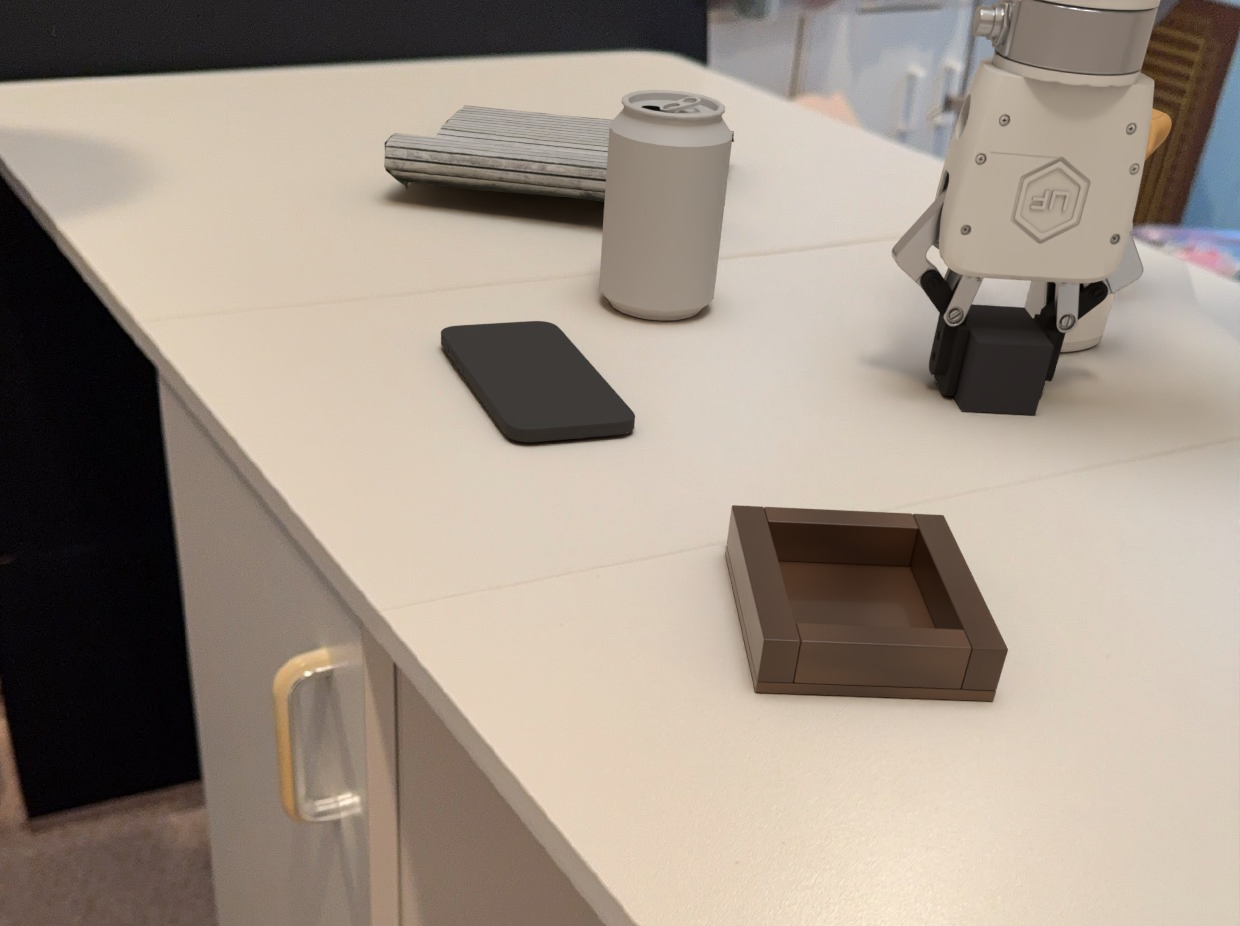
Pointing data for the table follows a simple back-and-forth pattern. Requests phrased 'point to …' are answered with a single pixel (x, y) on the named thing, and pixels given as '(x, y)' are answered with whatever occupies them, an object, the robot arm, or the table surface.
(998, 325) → the block
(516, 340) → the phone
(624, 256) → the can
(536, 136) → the mat
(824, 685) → the socket
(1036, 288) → the eye dropper bottle
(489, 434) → the table surface
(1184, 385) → the table surface
